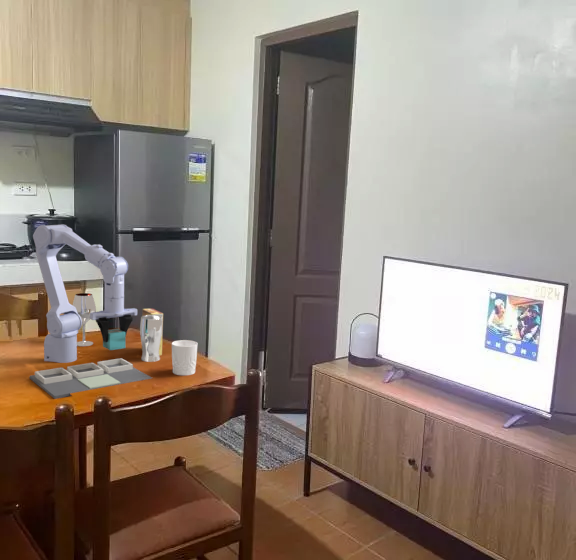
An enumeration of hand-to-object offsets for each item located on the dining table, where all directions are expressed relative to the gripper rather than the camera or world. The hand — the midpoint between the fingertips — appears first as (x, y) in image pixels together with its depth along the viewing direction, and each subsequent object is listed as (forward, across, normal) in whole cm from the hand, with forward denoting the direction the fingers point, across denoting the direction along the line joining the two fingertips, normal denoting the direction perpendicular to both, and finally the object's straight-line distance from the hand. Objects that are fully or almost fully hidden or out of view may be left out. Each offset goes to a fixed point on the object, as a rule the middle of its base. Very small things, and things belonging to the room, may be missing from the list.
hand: (114, 340), depth 187 cm
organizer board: (+10, -9, -4) cm, 14 cm away
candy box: (+10, +19, +11) cm, 24 cm away
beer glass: (+10, +15, +4) cm, 18 cm away
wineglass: (+10, +5, +35) cm, 37 cm away
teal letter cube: (+2, 0, 0) cm, 2 cm away
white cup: (+10, +17, -14) cm, 24 cm away
